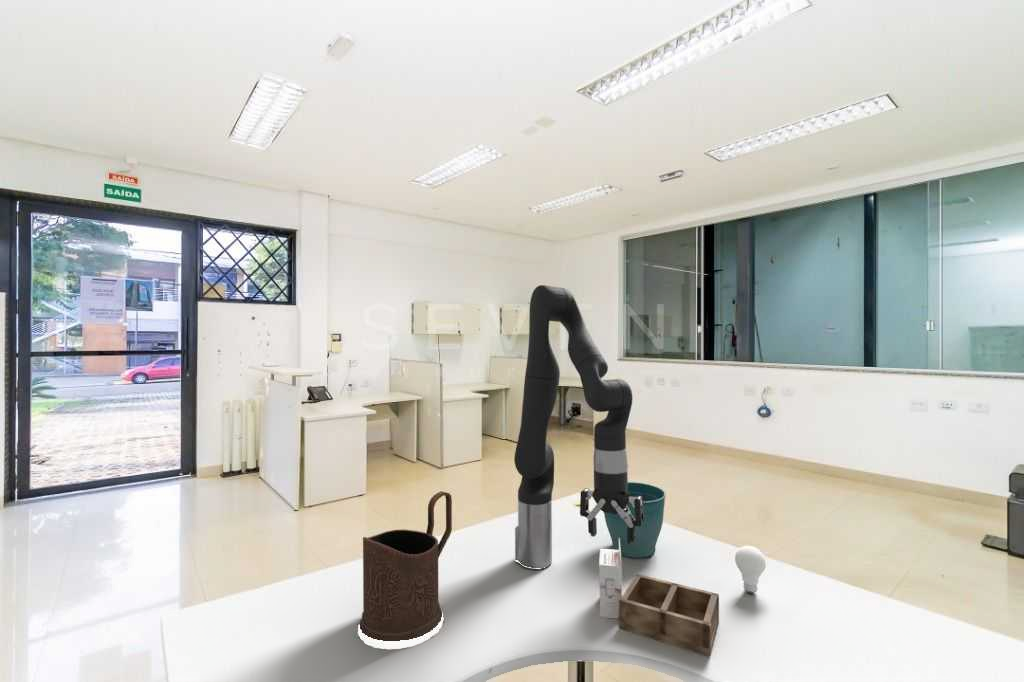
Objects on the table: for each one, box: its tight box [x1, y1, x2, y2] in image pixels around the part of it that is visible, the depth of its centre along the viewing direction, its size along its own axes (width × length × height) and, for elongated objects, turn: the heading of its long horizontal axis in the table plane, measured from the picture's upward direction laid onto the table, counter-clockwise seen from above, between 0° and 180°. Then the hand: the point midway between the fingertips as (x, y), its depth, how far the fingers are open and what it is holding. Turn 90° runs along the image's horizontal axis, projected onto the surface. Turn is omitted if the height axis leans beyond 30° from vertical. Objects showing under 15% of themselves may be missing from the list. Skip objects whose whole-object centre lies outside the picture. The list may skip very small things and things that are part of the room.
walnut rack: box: [618, 573, 720, 658], centre depth 101 cm, size 18×13×6 cm
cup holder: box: [359, 490, 453, 641], centre depth 105 cm, size 18×24×25 cm
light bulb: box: [734, 545, 767, 594], centre depth 114 cm, size 7×7×11 cm
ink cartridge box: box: [598, 538, 623, 620], centre depth 108 cm, size 9×5×15 cm, turn 168°
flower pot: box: [603, 481, 667, 559], centre depth 138 cm, size 18×18×17 cm
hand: (611, 539), depth 108 cm, fingers open, 8 cm apart
